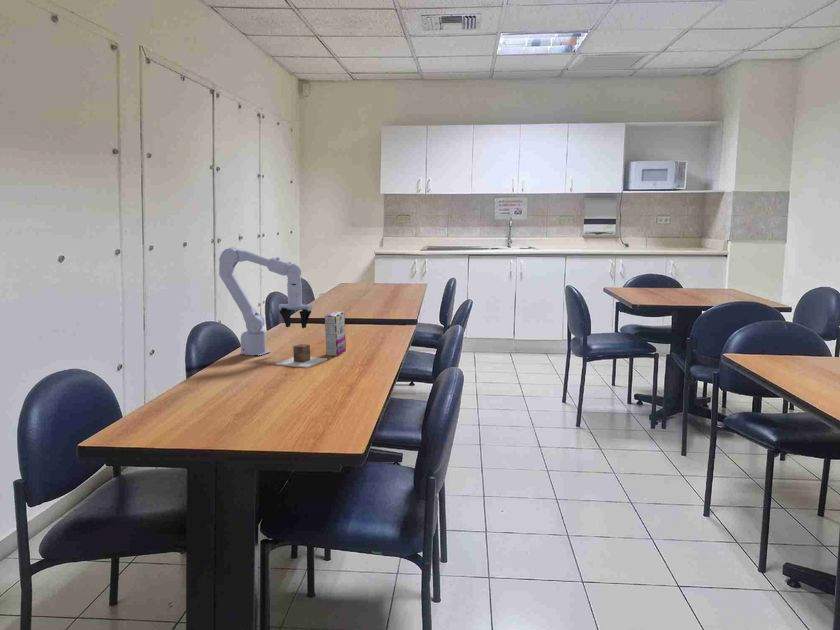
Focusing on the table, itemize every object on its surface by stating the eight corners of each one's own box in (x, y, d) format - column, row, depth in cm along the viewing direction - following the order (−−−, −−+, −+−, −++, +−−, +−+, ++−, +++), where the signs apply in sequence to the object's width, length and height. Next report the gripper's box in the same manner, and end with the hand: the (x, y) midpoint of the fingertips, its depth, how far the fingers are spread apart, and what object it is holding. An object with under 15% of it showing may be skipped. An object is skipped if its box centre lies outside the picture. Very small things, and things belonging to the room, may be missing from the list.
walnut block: (293, 361, 241) (293, 346, 240) (300, 359, 245) (299, 343, 244) (304, 362, 239) (303, 347, 239) (310, 360, 244) (309, 344, 243)
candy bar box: (334, 350, 264) (333, 311, 262) (346, 350, 263) (345, 311, 261) (325, 356, 253) (324, 315, 251) (337, 356, 252) (336, 315, 250)
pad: (275, 365, 239) (275, 363, 238) (296, 357, 251) (296, 355, 251) (307, 368, 233) (307, 366, 233) (327, 360, 246) (327, 358, 246)
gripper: (273, 294, 256) (275, 327, 258) (304, 296, 250) (305, 330, 252) (283, 292, 262) (285, 325, 264) (314, 294, 257) (315, 327, 259)
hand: (296, 327), depth 259 cm, fingers open, 7 cm apart
